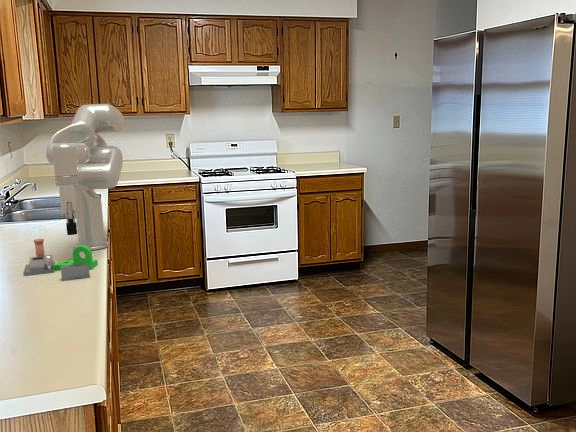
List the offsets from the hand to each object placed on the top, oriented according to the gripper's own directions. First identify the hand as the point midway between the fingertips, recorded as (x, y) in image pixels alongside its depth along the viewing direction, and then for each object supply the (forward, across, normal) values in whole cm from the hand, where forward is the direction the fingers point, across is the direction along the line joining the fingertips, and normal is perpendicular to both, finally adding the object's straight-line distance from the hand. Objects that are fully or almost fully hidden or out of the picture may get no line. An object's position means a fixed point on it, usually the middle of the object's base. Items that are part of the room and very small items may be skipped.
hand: (72, 234), depth 195 cm
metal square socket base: (+10, +7, -11) cm, 16 cm away
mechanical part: (+10, +9, 0) cm, 14 cm away
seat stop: (+10, +22, 0) cm, 24 cm away
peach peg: (+10, -1, -11) cm, 14 cm away
